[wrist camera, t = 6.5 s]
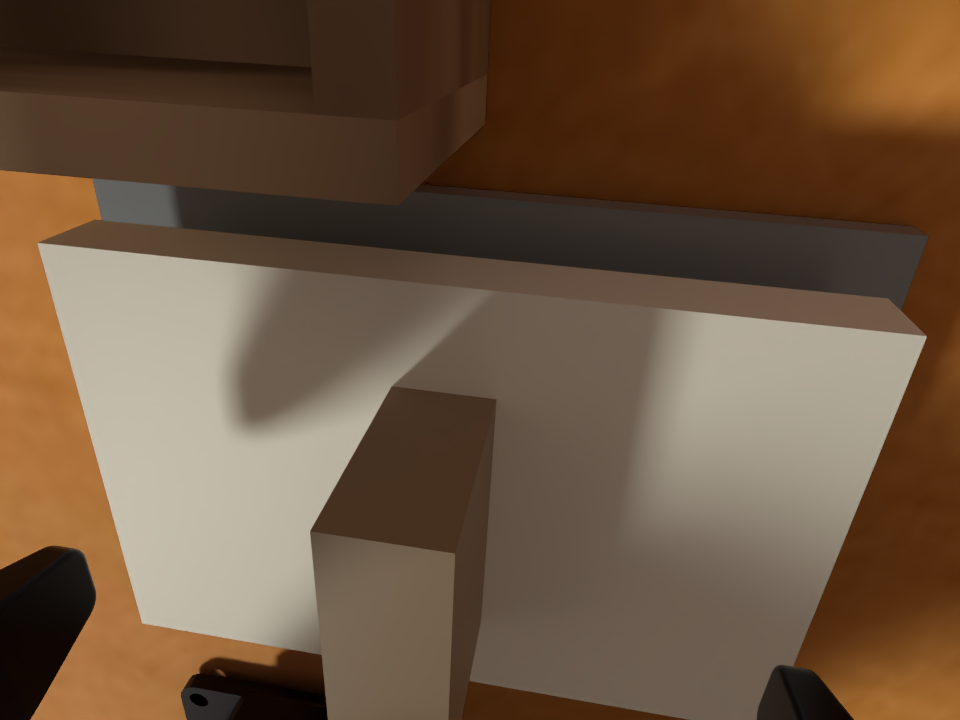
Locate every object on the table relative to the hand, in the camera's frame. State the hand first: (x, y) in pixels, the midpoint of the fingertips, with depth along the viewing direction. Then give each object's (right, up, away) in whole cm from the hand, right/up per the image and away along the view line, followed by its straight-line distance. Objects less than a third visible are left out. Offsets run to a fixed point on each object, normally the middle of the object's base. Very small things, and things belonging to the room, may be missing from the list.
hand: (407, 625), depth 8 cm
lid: (0, +2, +3) cm, 3 cm away
